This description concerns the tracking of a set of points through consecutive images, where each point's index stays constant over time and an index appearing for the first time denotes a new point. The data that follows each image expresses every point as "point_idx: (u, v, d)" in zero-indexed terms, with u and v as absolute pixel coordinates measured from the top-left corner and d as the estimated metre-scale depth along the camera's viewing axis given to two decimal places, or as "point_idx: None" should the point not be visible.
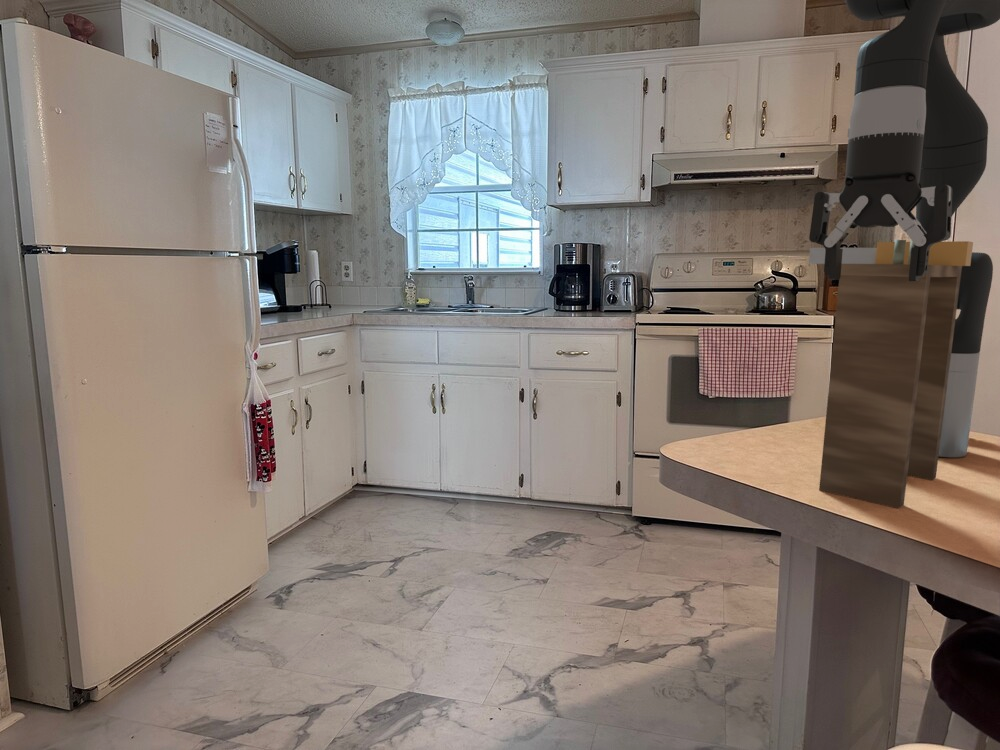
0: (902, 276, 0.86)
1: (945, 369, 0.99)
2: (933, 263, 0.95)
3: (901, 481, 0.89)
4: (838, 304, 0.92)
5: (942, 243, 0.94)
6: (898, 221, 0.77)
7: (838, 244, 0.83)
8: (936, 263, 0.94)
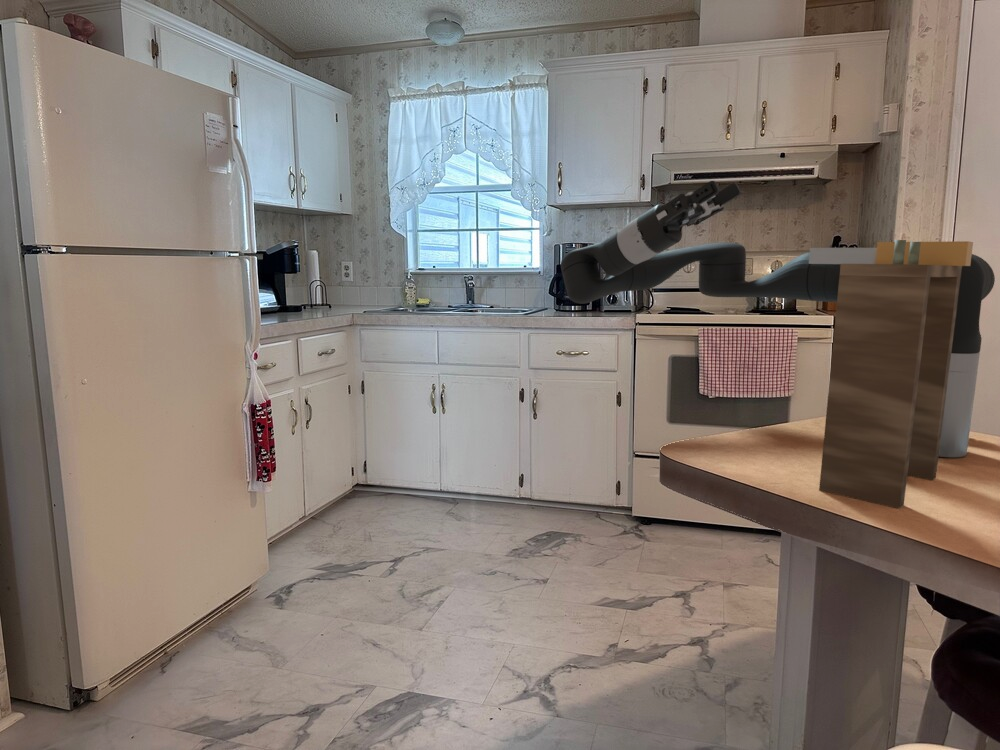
0: (902, 276, 0.86)
1: (945, 369, 0.99)
2: (933, 263, 0.95)
3: (901, 481, 0.89)
4: (838, 304, 0.92)
5: (942, 243, 0.94)
6: None
7: None
8: (936, 263, 0.94)
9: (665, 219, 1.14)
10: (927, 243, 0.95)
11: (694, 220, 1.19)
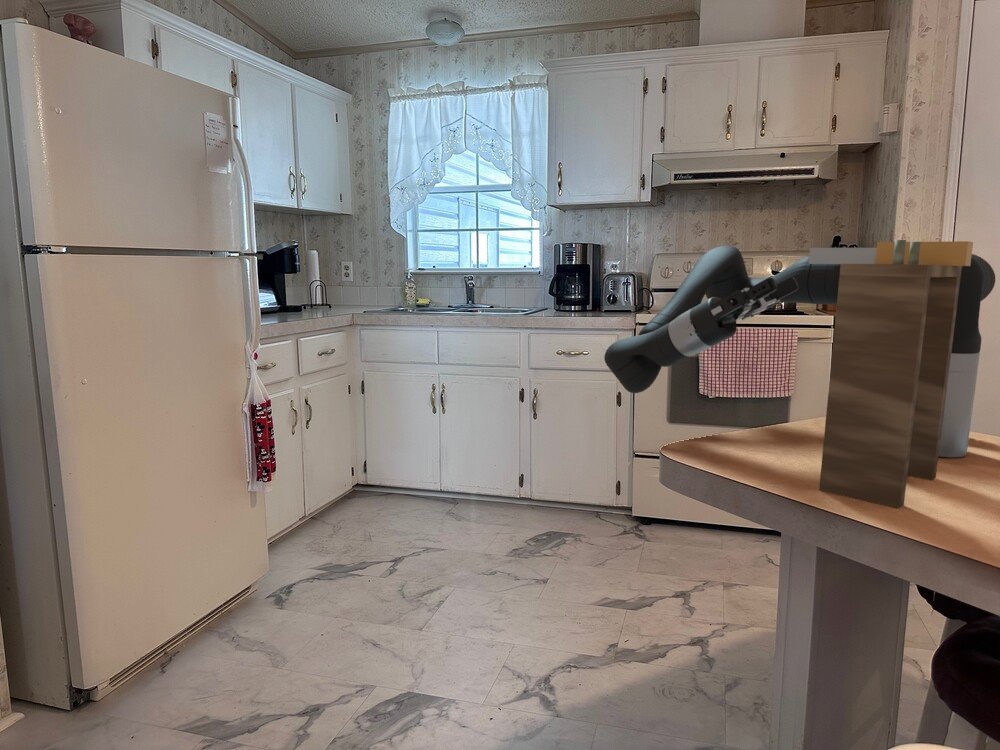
0: (902, 276, 0.86)
1: (945, 369, 0.99)
2: (933, 263, 0.95)
3: (901, 481, 0.89)
4: (838, 304, 0.92)
5: (942, 243, 0.94)
6: None
7: None
8: (936, 263, 0.94)
9: (720, 315, 1.11)
10: (927, 243, 0.95)
11: (750, 314, 1.16)
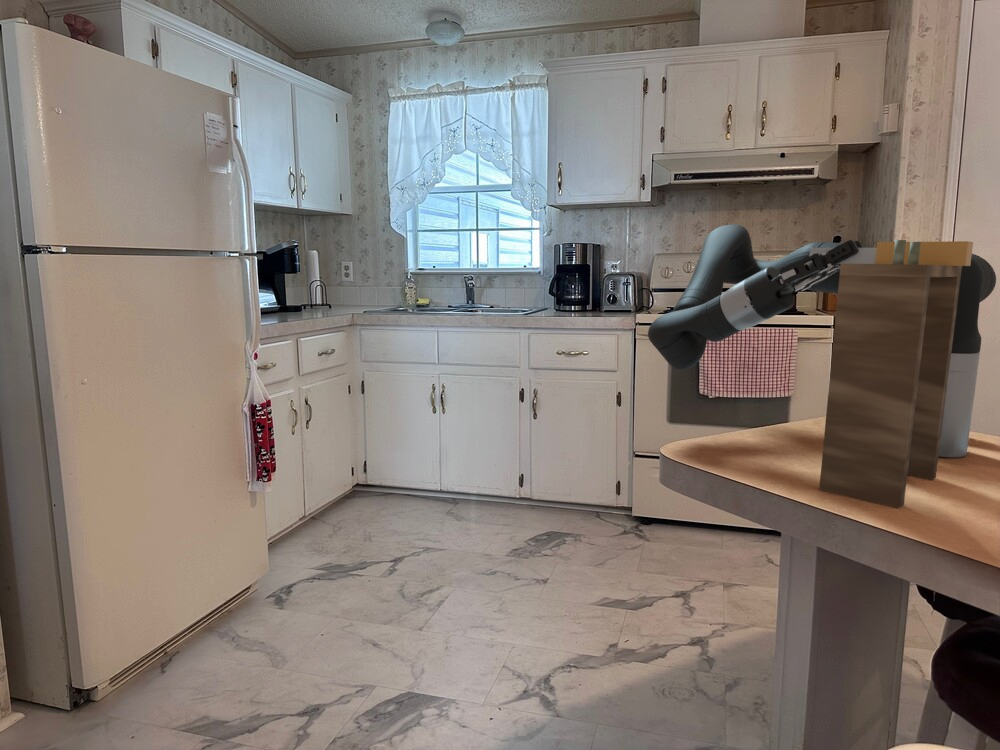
0: (902, 276, 0.86)
1: (945, 369, 0.99)
2: (933, 263, 0.95)
3: (901, 481, 0.89)
4: (838, 304, 0.92)
5: (942, 243, 0.94)
6: None
7: None
8: (936, 263, 0.94)
9: (795, 278, 1.03)
10: (927, 243, 0.95)
11: (807, 285, 1.09)
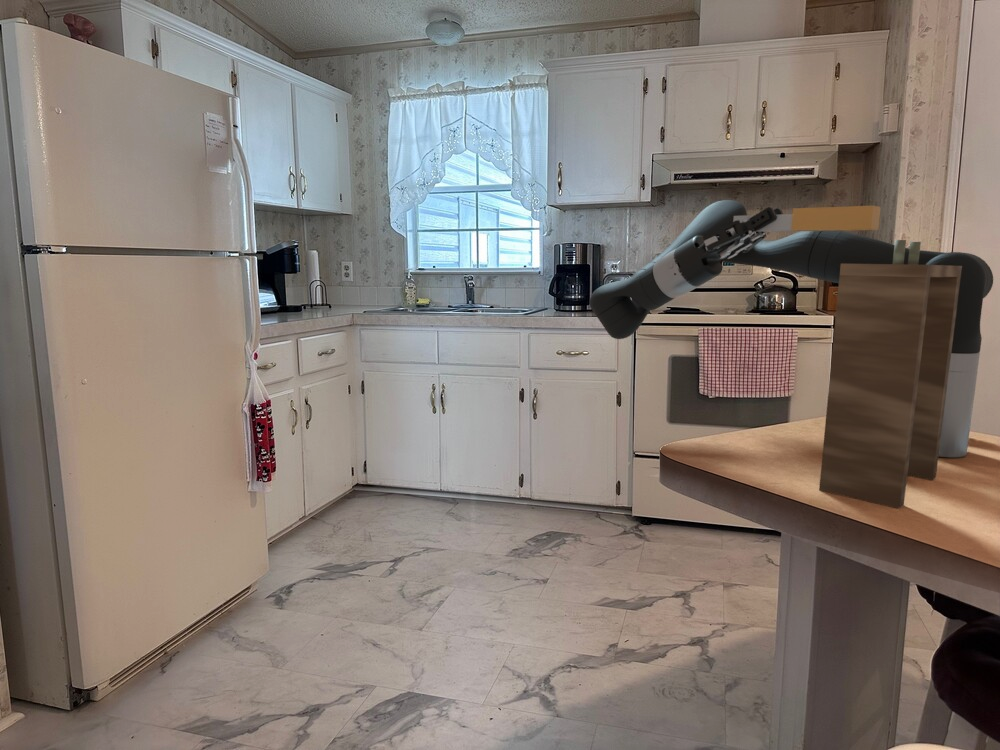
0: (902, 276, 0.86)
1: (945, 369, 0.99)
2: (842, 227, 0.98)
3: (901, 481, 0.89)
4: (838, 304, 0.92)
5: (850, 208, 0.97)
6: None
7: None
8: (845, 227, 0.98)
9: (716, 244, 1.07)
10: (837, 208, 0.98)
11: (733, 252, 1.12)
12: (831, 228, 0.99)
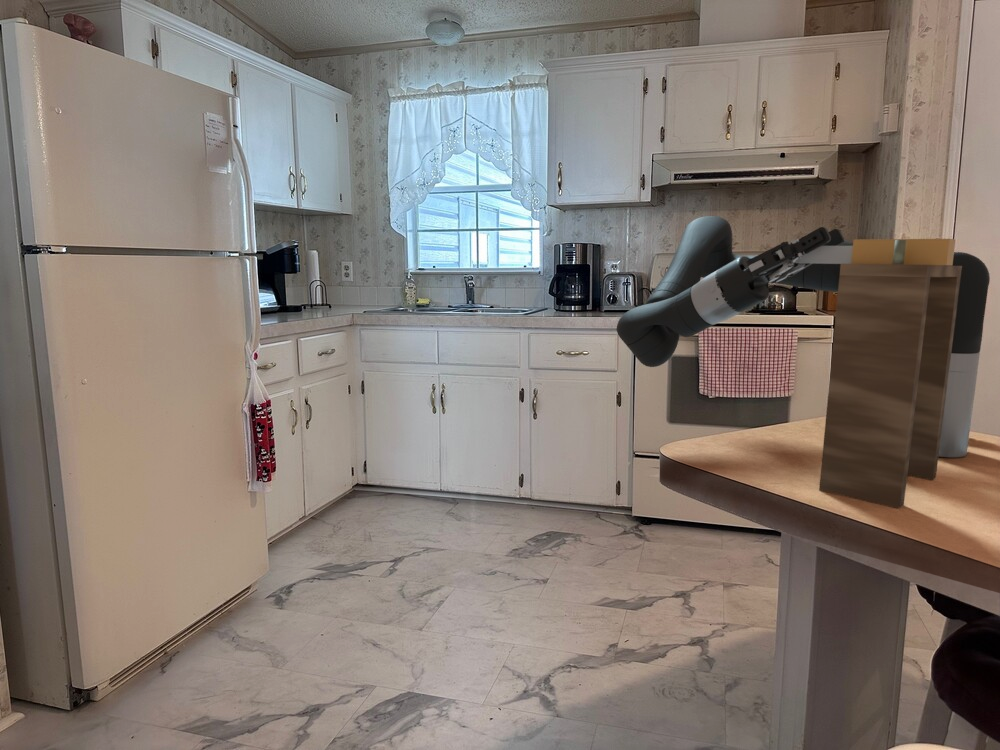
0: (902, 276, 0.86)
1: (945, 369, 0.99)
2: (912, 262, 0.88)
3: (901, 481, 0.89)
4: (838, 304, 0.92)
5: (921, 241, 0.87)
6: None
7: None
8: (915, 262, 0.87)
9: (762, 270, 0.96)
10: (906, 241, 0.88)
11: (784, 275, 1.01)
12: None
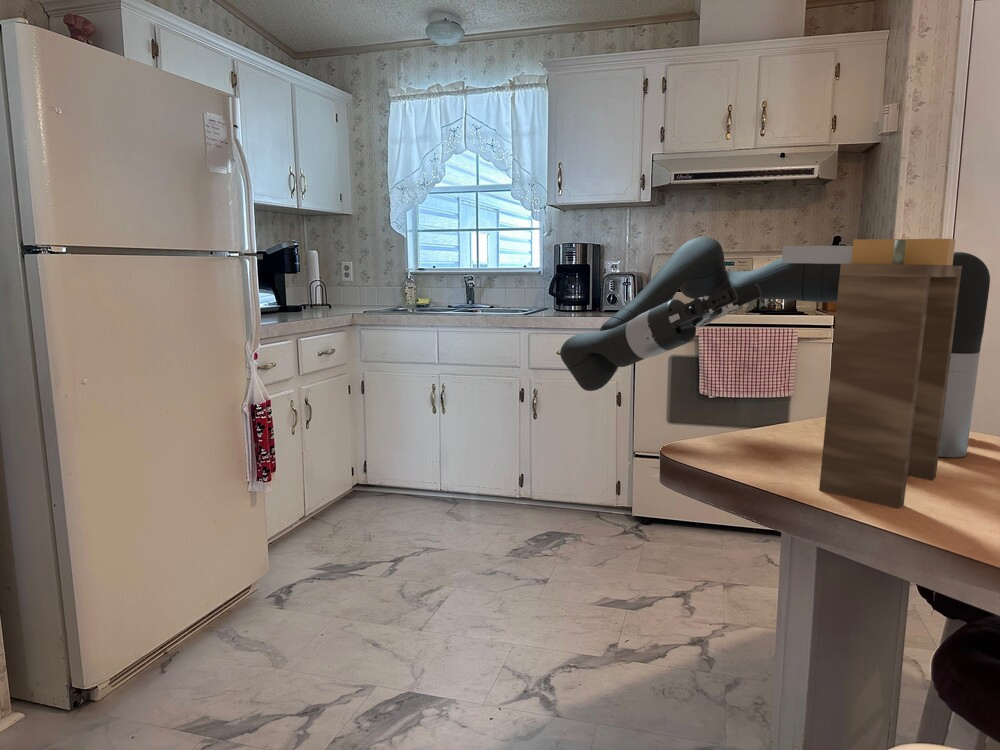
0: (902, 276, 0.86)
1: (945, 369, 0.99)
2: (912, 262, 0.88)
3: (901, 481, 0.89)
4: (838, 304, 0.92)
5: (921, 241, 0.87)
6: None
7: None
8: (915, 262, 0.87)
9: (678, 323, 1.05)
10: (906, 241, 0.88)
11: (710, 320, 1.10)
12: None
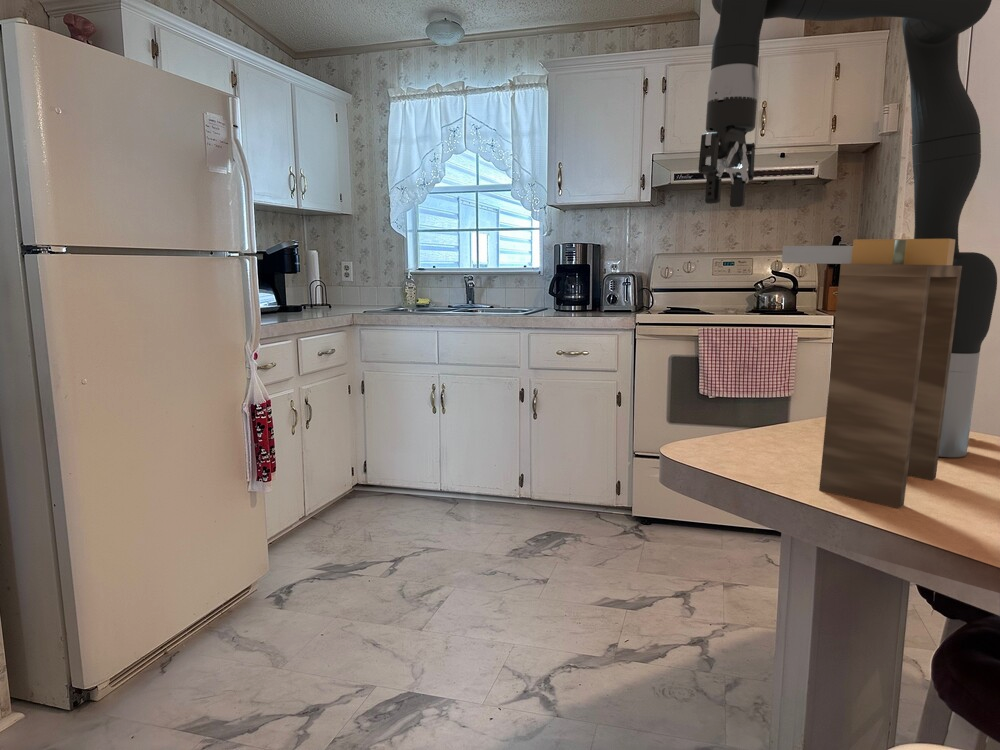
0: (902, 276, 0.86)
1: (945, 369, 0.99)
2: (912, 262, 0.88)
3: (901, 481, 0.89)
4: (838, 304, 0.92)
5: (921, 241, 0.87)
6: (744, 164, 1.11)
7: None
8: (915, 262, 0.87)
9: (702, 142, 1.06)
10: (906, 241, 0.88)
11: None
12: None
